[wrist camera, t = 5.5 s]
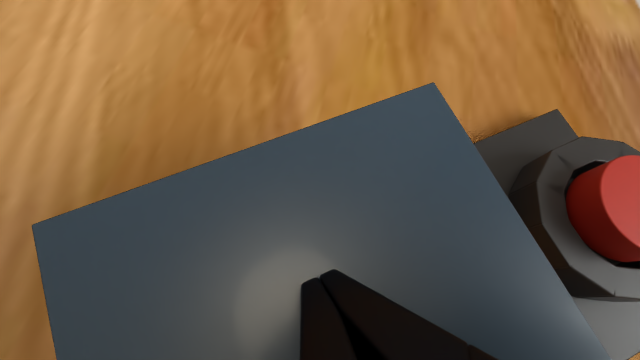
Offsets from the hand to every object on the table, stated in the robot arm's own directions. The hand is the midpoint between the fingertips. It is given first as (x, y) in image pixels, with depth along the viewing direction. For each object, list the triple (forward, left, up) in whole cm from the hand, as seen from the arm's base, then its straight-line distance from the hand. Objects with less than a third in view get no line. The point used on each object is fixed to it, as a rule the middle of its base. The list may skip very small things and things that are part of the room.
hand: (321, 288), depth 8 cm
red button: (-2, -13, -5) cm, 14 cm away
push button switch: (-2, -13, -7) cm, 15 cm away
